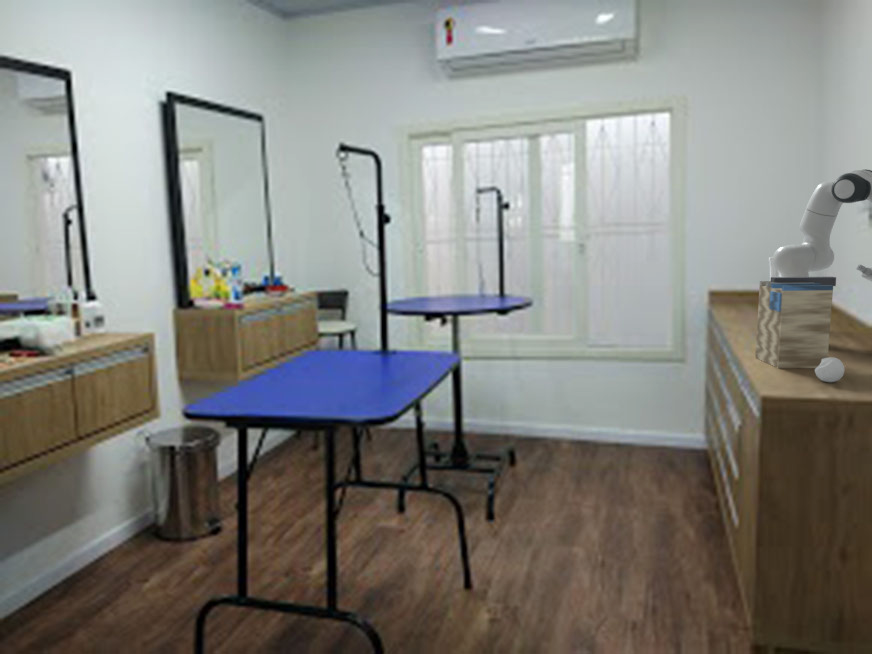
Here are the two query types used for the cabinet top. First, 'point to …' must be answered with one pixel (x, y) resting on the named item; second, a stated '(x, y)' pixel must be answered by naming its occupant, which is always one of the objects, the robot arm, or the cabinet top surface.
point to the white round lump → (830, 369)
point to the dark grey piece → (806, 280)
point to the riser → (793, 323)
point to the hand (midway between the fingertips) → (864, 267)
